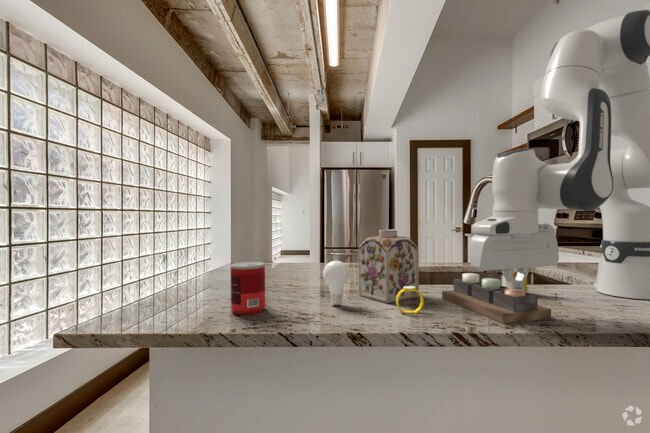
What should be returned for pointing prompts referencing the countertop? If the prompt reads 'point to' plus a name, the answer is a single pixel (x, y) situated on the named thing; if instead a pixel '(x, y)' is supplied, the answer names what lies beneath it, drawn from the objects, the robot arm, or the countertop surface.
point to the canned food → (247, 287)
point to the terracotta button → (515, 292)
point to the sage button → (490, 283)
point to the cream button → (470, 277)
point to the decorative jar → (388, 267)
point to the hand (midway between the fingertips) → (515, 288)
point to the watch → (409, 288)
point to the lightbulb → (336, 280)
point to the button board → (496, 303)
